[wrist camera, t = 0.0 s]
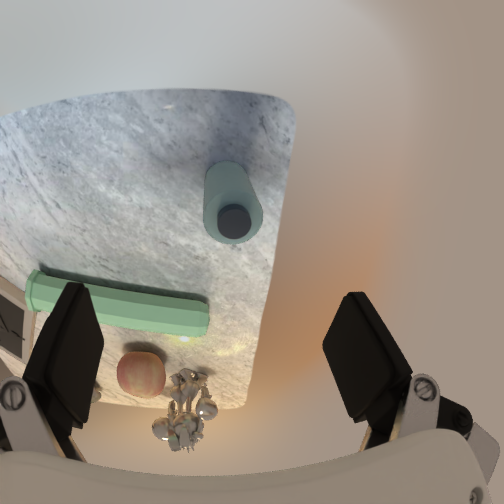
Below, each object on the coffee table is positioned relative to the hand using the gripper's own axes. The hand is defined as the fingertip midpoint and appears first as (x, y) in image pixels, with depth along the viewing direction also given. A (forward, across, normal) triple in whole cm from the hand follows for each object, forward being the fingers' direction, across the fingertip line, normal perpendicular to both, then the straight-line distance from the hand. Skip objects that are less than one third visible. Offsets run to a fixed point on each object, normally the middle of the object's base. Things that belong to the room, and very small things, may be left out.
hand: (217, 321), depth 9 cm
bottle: (+20, -2, +1) cm, 20 cm away
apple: (+20, +9, +30) cm, 38 cm away
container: (+20, +11, +17) cm, 29 cm away
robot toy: (+20, +3, +38) cm, 44 cm away
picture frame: (+20, +38, +25) cm, 50 cm away
